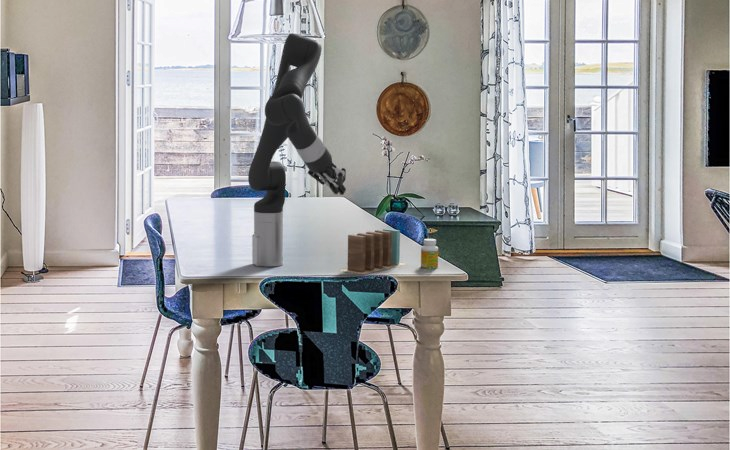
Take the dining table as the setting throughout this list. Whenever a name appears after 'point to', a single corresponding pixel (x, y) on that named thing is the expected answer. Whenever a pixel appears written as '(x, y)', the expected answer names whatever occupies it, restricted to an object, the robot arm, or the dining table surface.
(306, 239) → the dining table surface
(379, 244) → the domino
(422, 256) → the supplement bottle
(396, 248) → the domino
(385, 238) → the domino
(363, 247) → the domino
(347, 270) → the domino board
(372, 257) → the domino
